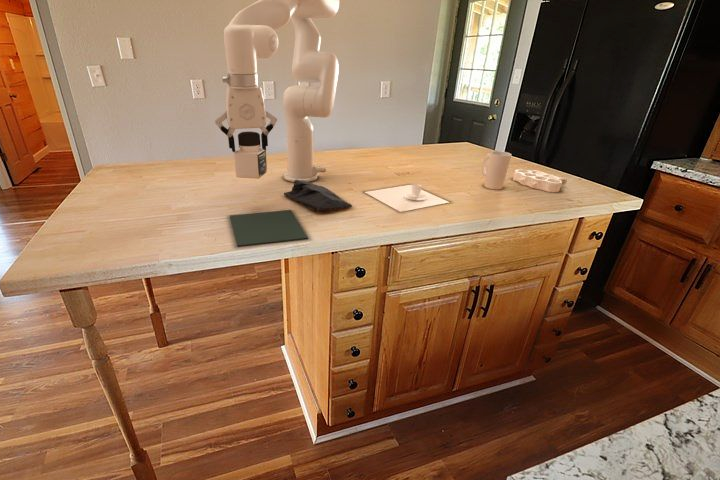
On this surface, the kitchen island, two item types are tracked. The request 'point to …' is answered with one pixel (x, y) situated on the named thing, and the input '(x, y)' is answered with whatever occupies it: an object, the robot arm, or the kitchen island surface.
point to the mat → (266, 228)
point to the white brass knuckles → (539, 180)
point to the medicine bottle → (250, 156)
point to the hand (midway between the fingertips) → (248, 149)
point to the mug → (496, 169)
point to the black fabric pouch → (315, 197)
